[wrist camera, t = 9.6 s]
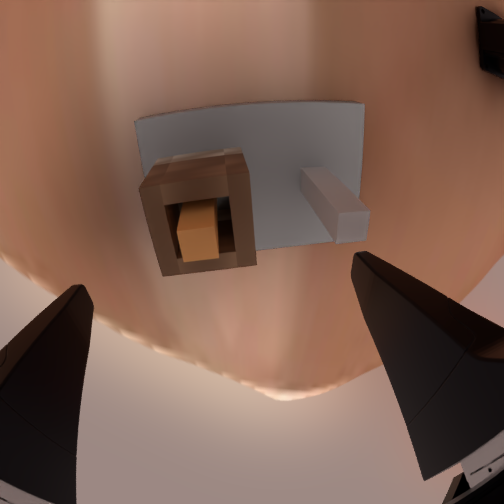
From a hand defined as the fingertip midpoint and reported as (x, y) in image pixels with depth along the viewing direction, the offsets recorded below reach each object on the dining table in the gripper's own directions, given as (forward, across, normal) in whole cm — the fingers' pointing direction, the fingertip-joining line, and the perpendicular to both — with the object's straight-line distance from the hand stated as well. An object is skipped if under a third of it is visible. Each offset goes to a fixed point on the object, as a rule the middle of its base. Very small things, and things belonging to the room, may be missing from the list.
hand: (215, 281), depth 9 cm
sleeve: (+10, +1, +1) cm, 10 cm away
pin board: (+12, -3, +1) cm, 12 cm away
